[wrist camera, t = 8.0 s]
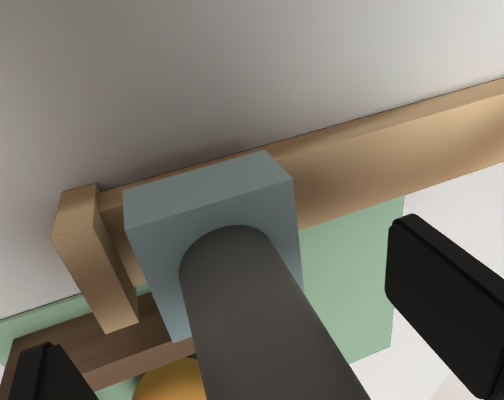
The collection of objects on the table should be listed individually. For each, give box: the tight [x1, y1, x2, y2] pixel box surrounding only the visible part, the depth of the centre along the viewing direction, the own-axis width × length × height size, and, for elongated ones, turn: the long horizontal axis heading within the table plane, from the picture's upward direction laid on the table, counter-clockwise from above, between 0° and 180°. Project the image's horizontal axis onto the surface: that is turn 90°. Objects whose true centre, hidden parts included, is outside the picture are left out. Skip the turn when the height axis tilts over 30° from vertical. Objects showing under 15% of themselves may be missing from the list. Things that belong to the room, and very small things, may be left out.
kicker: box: [122, 150, 371, 400], centre depth 13 cm, size 14×5×10 cm, turn 9°
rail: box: [50, 78, 504, 334], centre depth 15 cm, size 4×23×3 cm, turn 99°
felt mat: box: [0, 196, 404, 400], centre depth 20 cm, size 13×20×1 cm, turn 99°
